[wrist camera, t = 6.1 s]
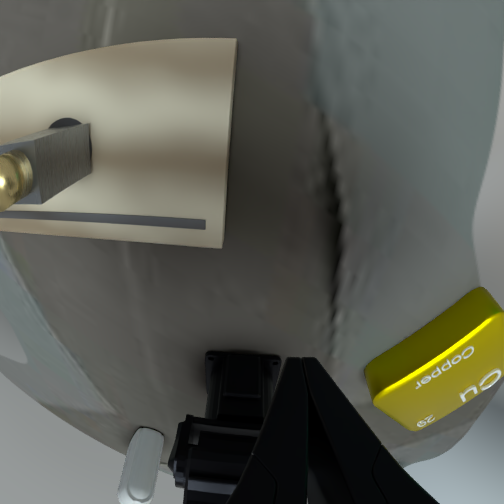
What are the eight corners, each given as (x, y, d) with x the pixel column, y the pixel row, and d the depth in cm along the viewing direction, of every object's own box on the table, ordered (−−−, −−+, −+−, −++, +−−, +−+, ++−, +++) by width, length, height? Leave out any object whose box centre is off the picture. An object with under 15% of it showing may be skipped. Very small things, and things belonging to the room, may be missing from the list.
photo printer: (152, 451, 38) (140, 515, 28) (128, 442, 37) (112, 506, 27) (168, 433, 34) (154, 512, 23) (138, 423, 33) (119, 502, 22)
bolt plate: (224, 237, 19) (206, 325, 12) (-32, 220, 18) (-84, 263, 11) (238, 43, 13) (221, -1, 6) (-47, 101, 13) (-111, 124, 6)
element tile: (482, 276, 21) (509, 308, 17) (498, 346, 26) (514, 372, 22) (355, 365, 26) (366, 405, 22) (404, 408, 32) (413, 437, 27)
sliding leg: (90, 173, 15) (21, 219, 9) (53, 174, 15) (-17, 217, 9) (88, 123, 14) (10, 148, 8) (50, 128, 14) (-28, 156, 8)
